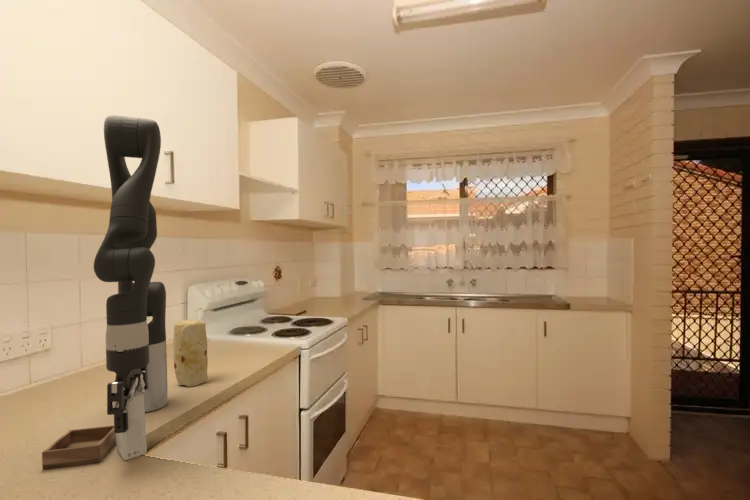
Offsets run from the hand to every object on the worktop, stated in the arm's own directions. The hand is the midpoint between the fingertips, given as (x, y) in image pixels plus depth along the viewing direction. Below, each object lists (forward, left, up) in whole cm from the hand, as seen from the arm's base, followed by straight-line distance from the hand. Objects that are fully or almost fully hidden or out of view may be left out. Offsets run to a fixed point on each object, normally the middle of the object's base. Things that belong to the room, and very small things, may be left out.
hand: (130, 422), depth 82 cm
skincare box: (0, 0, -6) cm, 6 cm away
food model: (-42, +2, -6) cm, 43 cm away
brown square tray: (-2, -10, -6) cm, 11 cm away
